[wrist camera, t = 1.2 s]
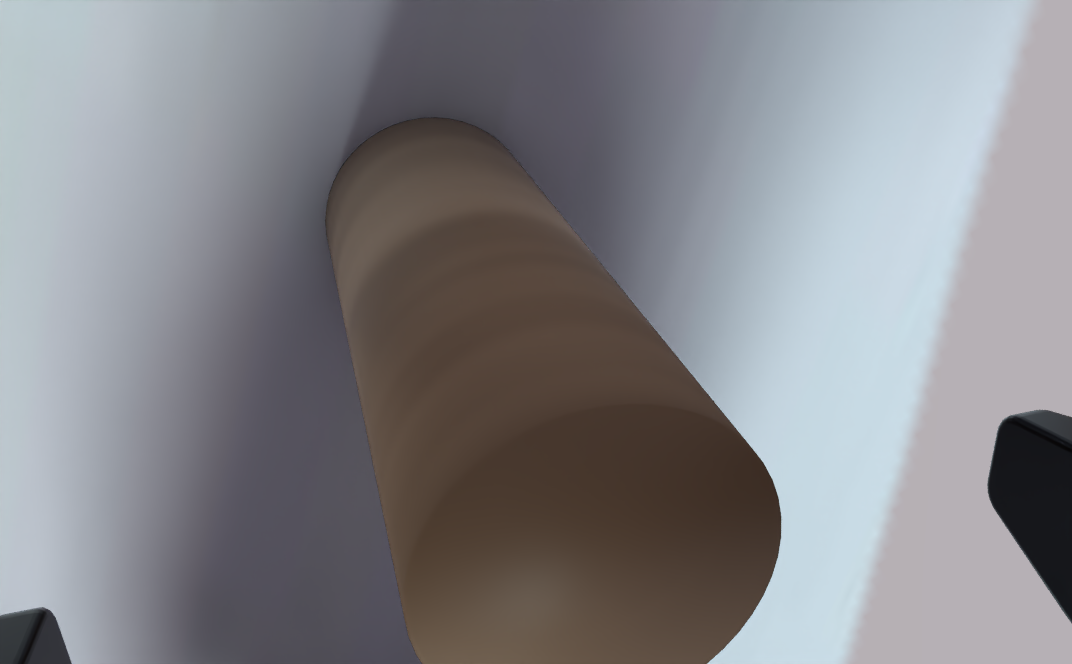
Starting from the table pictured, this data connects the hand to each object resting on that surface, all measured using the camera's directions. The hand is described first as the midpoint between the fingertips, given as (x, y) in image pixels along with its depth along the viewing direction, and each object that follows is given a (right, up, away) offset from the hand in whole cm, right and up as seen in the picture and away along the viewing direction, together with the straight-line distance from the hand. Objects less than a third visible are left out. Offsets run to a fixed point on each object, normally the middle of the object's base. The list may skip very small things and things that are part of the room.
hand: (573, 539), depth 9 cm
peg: (-2, +4, +7) cm, 8 cm away
